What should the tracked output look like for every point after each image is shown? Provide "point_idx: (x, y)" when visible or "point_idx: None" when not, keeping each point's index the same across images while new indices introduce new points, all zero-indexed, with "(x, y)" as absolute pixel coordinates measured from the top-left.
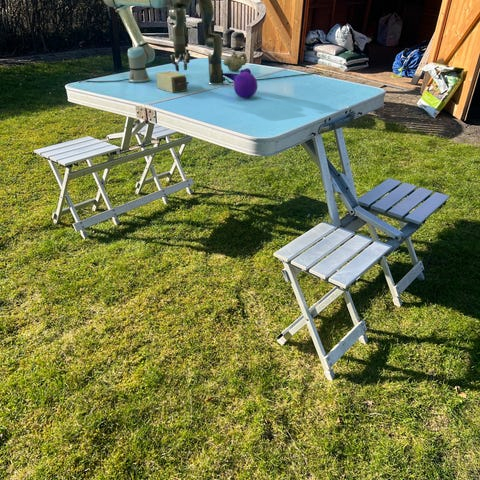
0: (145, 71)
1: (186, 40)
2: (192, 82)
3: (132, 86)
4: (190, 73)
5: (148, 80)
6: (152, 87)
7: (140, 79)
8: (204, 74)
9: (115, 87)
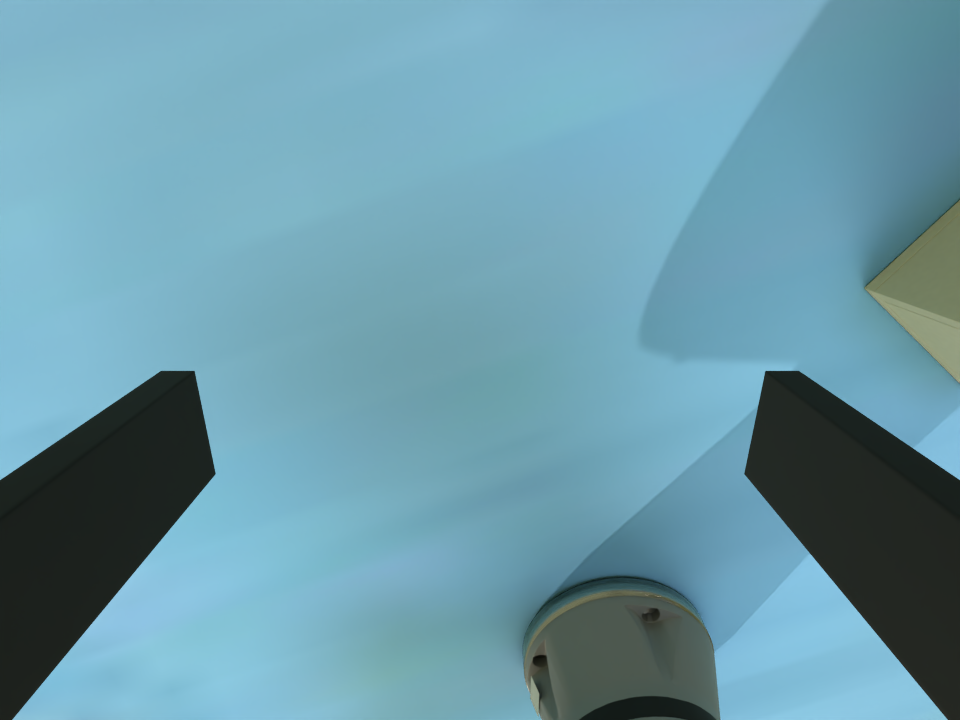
0: (649, 671)
1: (54, 514)
2: (666, 89)
3: (846, 618)
4: (109, 316)
5: (629, 582)
6: (918, 449)
7: (707, 635)
8: (100, 98)
9: (872, 710)
